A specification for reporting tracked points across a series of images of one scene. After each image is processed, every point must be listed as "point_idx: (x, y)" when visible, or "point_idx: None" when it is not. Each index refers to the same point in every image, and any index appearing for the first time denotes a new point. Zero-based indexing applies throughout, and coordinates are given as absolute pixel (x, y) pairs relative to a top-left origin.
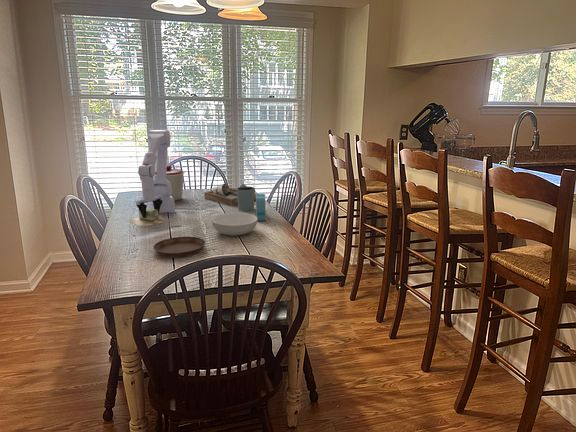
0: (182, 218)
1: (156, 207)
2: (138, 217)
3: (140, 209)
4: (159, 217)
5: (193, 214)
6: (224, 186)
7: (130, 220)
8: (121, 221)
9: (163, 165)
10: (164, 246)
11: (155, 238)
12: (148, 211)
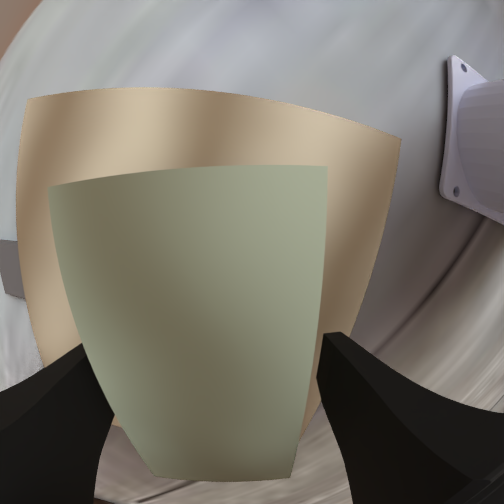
0: (428, 380)
1: (358, 442)
2: (175, 96)
3: (19, 410)
4: (339, 330)
5: (497, 343)
6: None
7: (41, 157)
8: (70, 27)
9: None
10: (101, 501)
11: (98, 474)
12: (141, 455)
